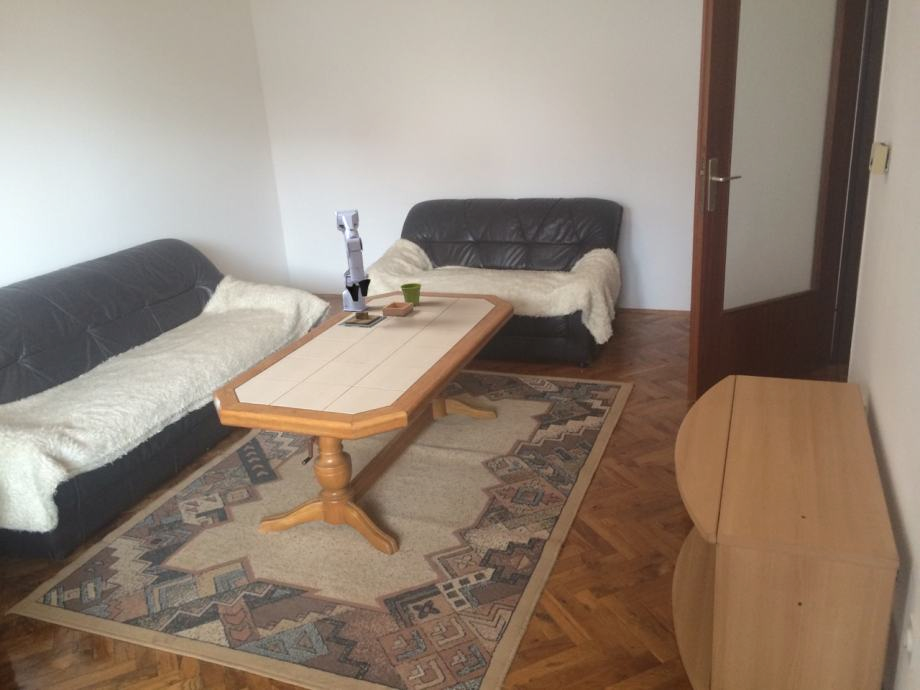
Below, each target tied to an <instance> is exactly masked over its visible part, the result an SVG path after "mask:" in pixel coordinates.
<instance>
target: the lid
mask: <svg viewBox="0 0 920 690" xmlns="http://www.w3.org/2000/svg"><path fill="white" fill-rule="evenodd" d="M354 314H355V315H356V316H355V315H353V316H354V317H353V316H351V317H352V318H351V317H350V319H349V318H348V319H349V320H348V319H346V320H347V321H346V320H344V321H345V324H359V325H369V324H370V323H372V322H373V321H375V320H377V319H378V318H380V316H381V315H375V314H369V311H355V313H354Z"/></svg>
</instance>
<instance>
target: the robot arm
mask: <svg viewBox="0 0 920 690" xmlns="http://www.w3.org/2000/svg"><path fill="white" fill-rule="evenodd" d="M359 216H360V215H359V211H358V209H356V208H355V209H348V210H336V211H335V212H334V217H335V223H336V229H337V231H339V232H341V233H342V234H343V235H342V236H343V240H344V247H345V248H344V249H345V254H346V261H347V269H345V270H344V272H343V273H342V281H343V289H344V291H343V292H342V303H343V304H342V305H343V309H342V311H345V312H358V311H359V312H364V311H365V310H366V309H368V308H370V305H367V304H366V297H368V293H369V287H370V283H371V278H369V273H367V272H365V267H364V258H363V249H364V247H363V241H362V238H361V236H360V235H359V231H358V228H359V226H360V217H359ZM347 308H348V309H347Z"/></svg>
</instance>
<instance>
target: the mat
mask: <svg viewBox="0 0 920 690" xmlns="http://www.w3.org/2000/svg"><path fill="white" fill-rule="evenodd" d="M354 316H356V314H355V315H353V316H351V317H350V318H352V317H354ZM379 316H380V318H378V319H377V320H375V321H373V322H372V323H370V324H369V325H359V324H345V321H347V320H349V319H350V318H348V319H346V320H344V321H342V322H341V323H339V324H338V325H346V326H345V327H351V326H360V327H359V328H368V327H370V328H371V326H372V327H373V326H375V325H377V324H378V323H379V321H380V322H382V321H383V320H384V319H386V318H387V317H388V316H383V315H379ZM382 319H383V320H382ZM374 324H375V325H374Z"/></svg>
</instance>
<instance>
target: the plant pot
mask: <svg viewBox="0 0 920 690" xmlns="http://www.w3.org/2000/svg"><path fill="white" fill-rule="evenodd" d="M421 288H422V284H421V283H416V282H415V283H414V282H413V283H411V282H409V283H406V284H405V283H404V284H402V285H400V289H401V291H402V294H403V299H404V302H407V303H413V306H415V305H416V306H419V305H420V297H421V296H420V295H421V294H420V293H421Z"/></svg>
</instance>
